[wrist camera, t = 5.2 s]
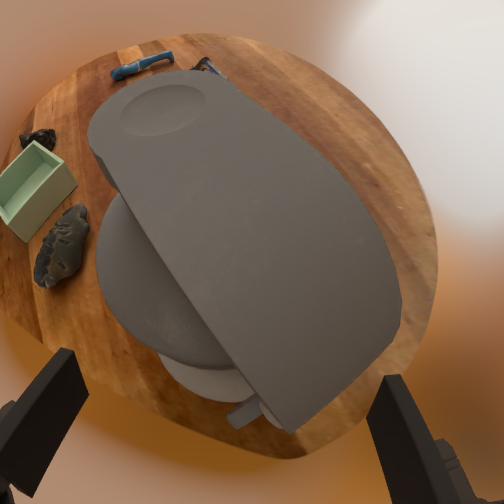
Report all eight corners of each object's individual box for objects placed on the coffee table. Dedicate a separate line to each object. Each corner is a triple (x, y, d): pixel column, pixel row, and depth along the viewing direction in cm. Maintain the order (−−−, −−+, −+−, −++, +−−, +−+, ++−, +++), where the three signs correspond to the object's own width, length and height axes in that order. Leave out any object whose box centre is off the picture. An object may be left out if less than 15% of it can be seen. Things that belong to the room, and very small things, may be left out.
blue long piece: (172, 60, 59) (113, 83, 56) (168, 47, 56) (108, 70, 53) (176, 61, 56) (114, 86, 53) (172, 47, 53) (109, 71, 50)
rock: (42, 129, 47) (32, 110, 42) (65, 139, 45) (54, 117, 40) (20, 153, 44) (7, 134, 39) (40, 165, 43) (26, 143, 37)
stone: (105, 210, 38) (91, 187, 33) (75, 300, 32) (53, 283, 27) (69, 208, 38) (54, 186, 34) (38, 290, 32) (15, 274, 27)
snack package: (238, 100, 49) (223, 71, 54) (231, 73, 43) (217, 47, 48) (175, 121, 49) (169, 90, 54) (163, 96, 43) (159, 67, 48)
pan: (26, 244, 35) (6, 225, 30) (1, 210, 38) (-15, 192, 33) (78, 184, 40) (64, 161, 35) (46, 160, 43) (34, 139, 38)
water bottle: (303, 362, 30) (514, 217, 5) (229, 418, 27) (138, 565, 2) (245, 291, 33) (249, 24, 8) (173, 341, 31) (-18, 153, 5)
